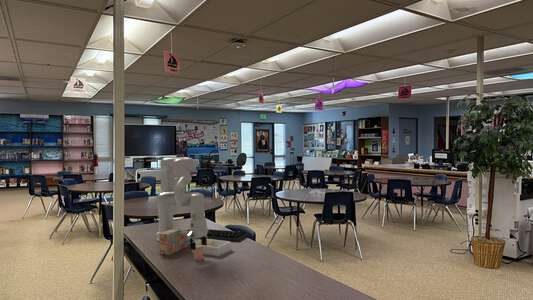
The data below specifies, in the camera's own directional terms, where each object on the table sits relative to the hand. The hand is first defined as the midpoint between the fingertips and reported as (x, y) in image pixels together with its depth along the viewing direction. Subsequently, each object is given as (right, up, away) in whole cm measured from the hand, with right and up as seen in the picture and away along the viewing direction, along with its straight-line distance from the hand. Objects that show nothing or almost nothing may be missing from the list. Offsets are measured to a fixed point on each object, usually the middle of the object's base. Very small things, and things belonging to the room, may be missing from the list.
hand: (198, 247), depth 200 cm
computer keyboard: (+1, -7, +50) cm, 50 cm away
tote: (+5, -6, +15) cm, 17 cm away
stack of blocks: (-18, -7, +20) cm, 28 cm away
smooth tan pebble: (0, -7, 0) cm, 7 cm away
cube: (+2, -6, +17) cm, 18 cm away
